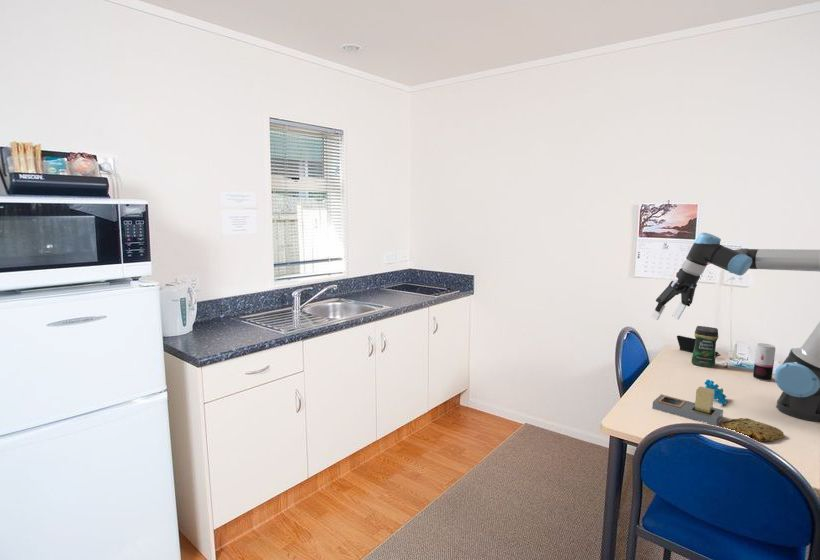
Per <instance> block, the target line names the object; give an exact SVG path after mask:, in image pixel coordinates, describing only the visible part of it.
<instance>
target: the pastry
mask: <svg viewBox="0 0 820 560" xmlns="http://www.w3.org/2000/svg"><path fill="white" fill-rule="evenodd" d="M720 426H721V428H723V427H725V428H728V429H731V430H735V431H736V432H739V433H742V434H744V435H747V436H749V437H751V438H750V439H752V438H753V439H752V440H754V439H755V440H757V441H756V442H769V441H770V442H771V441H772V442H773V441H775V440H780V439H784V438H785V434H784V431H782V430H781V429H779V428H778V427H775V426H772V425H770V424H767V423H764V422H760V421H756V420H753V419H751V418H743V417H740V418H734V419H730V420H727V421H725V420H724V421H721V423H720ZM755 440H754V441H755Z"/></svg>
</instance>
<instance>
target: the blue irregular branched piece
mask: <svg viewBox="0 0 820 560" xmlns="http://www.w3.org/2000/svg"><path fill="white" fill-rule="evenodd" d="M703 384H704V385H705V386H704V387H705V388H710V389H714V390H715V391H714V400H713V401H716V400H717V403H718V404H721V405H726V404H727V403H726V402H728V400H727V399H726V398H727V396H726V394H724V389H723V387H721V388H719V387H720V386H719V385H718V383H716V384H715V382H714V381H713V380H710V379H706V380H705V381H704V383H703Z"/></svg>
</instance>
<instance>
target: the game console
mask: <svg viewBox="0 0 820 560" xmlns="http://www.w3.org/2000/svg"><path fill="white" fill-rule="evenodd" d="M676 338H677V340H676V341H677V343H678V346H679V351H682V352H685V353H686V352H687V353H691V354H693V351H694V346H695V338H694V337H693V338H692V337H689V336H688V337H687V336H683V335H676ZM719 354H720V353H719V352H718V351H715V357H716V356H719Z"/></svg>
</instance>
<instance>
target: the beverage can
mask: <svg viewBox="0 0 820 560" xmlns="http://www.w3.org/2000/svg"><path fill="white" fill-rule="evenodd" d="M755 348H756V349H755V357H754V364H753V373H752V377H753V378H754V379H755V378H756V379H755V380H758V379H759V380H758V381H763V382H769V381H772V380H773V372H774V364H775V356H776V354H775V353H776V349H777V348H776V346H775V345H773V344H769V343H761V342H760V343H757V344H756V347H755Z"/></svg>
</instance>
